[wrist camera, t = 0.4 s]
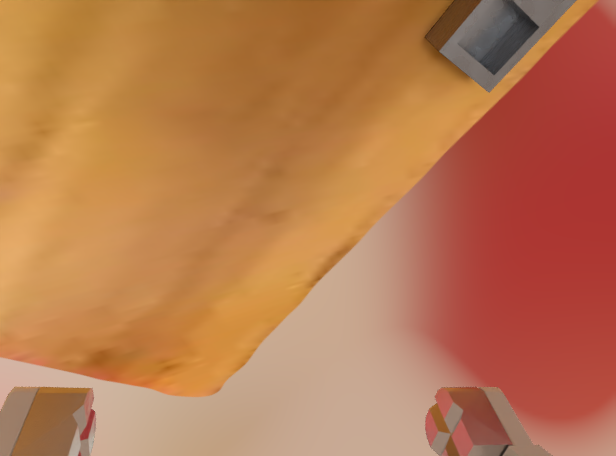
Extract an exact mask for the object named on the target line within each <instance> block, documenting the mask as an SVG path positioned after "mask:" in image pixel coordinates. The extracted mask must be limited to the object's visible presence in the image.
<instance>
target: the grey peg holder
mask: <svg viewBox="0 0 616 456" xmlns="http://www.w3.org/2000/svg"><path fill="white" fill-rule="evenodd" d="M575 1H576V0H455V1H454V2H453V3H452V4H451V6H450V7H449V8H448V9H447V10H446V12H445V13H444V14H443V15H442V17H441V18H440V19H439V20H438V22H437V23H436V24H435V25H434V26H433V28H432V29H431V30H430V31H429V33H428V34H427V35H426V36H425V38H426V39H427V40H428V41H429V42H430V43H431V44H432V45H433V46H434V47H435V48H436V49H437V50H438V51H439V52H440V53H442V54H443V55H444V56H445V57H446V58H448V59H449V60H450V61H451V62H452V63H454V64H455V65H456V66H457V67H458V68H460V69H461V70H462V71H463V72H465V73H466V74H467V75H468V76H469V77H471V78H472V79H473V80H474V81H475V82H477V83H478V84H479V85H480V86H481V87H483V88H484V89H485V90H486V91H488V92H490V91H491V90H492V89H493V88H494V87H495V86H496V85H497V84H498V83H499V82H500V81H501V80H502V79H503V77H504V76H505V75H506V74H507V73H508V72H509V71H510V70H511V69H512V68H513V67H514V66H515V65H516V64H517V63H518V62H519V61H520V59H521V58H522V57H523V56H524V55H525V54H526V53H527V52H528V51H529V50H530V49H531V48H532V47H533V46H534V45H535V44H536V43H537V42H538V40H539V39H540V38H541V37H542V36H543V35H544V34H545V33H546V32H547V31H548V30H549V29H550V28H551V27H552V26H553V25H554V24H555V22H556V21H557V20H558V19H559V18H560V17H561V16H562V15H563V14H564V13H565V12H566V11H567V10H568V9H569V8H570V7H571V6H572V5H573V3H574V2H575Z"/></svg>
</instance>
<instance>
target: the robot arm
mask: <svg viewBox="0 0 616 456" xmlns="http://www.w3.org/2000/svg"><path fill="white" fill-rule="evenodd" d="M435 399H436V401H437V403H436V404H435V405H434V406H432V407H431V408H430V409H429V410H428V413H427V415H426V421H425V430H426V435H427V439H428V442H429V445H430V447H431V448H432V449H433V450H434V451H435V452H436V453H437V454H438V455H439V456H552V455H551V454H550V453H548V452H547V451H546V450H545V449H543V448H542V447H541V446H539V445H533V443H532V442H531V440H530V438H529V436H528V435H527V433H526V431H525V430H524V428H523V426H522V425H521V423H520V421H519V419H518V418H517V416H516V414H515V413H514V411H513V409H512V408H511V406H510V404H509V402H508V401H507V399H506V397H505V395H504V394H503V392H502V391H501V390H500V389H499V388H497V387H479V388H477V387H442V388H441V389H439V390H438V391H437V393H436V395H435ZM93 400H94V395H93V389H92V388H58V387H57V388H56V387H55V388H54V387H14V388H13V389H12V391H11V392H10V393H9V394H8V396H7V399H6V401H5V402H4V405H3V407H2V409H1V411H0V456H90V454H91V451H92V447H93V442H94V436H95V428H96V416H95V411H94V410H92V409H91V407H92V404H93Z"/></svg>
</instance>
